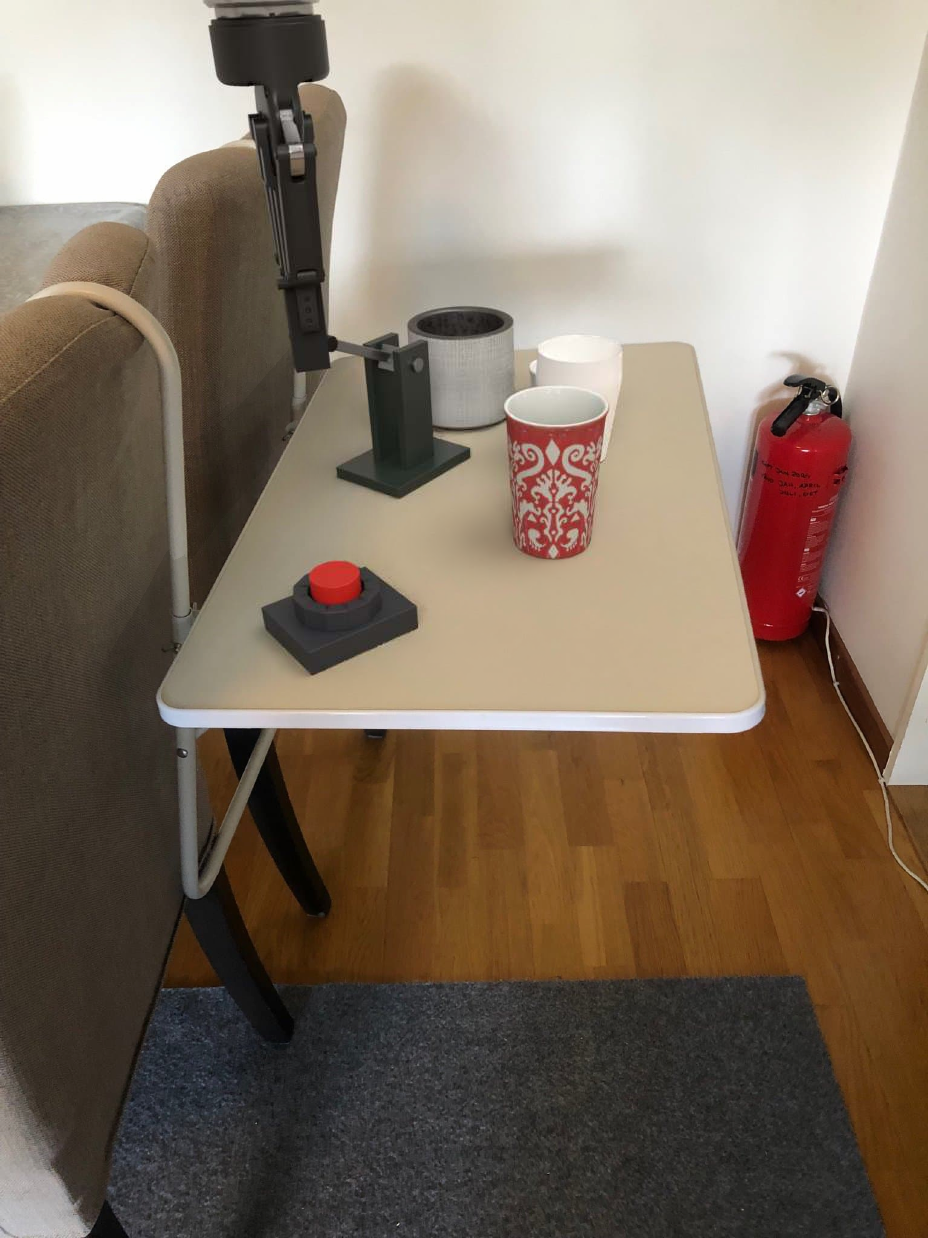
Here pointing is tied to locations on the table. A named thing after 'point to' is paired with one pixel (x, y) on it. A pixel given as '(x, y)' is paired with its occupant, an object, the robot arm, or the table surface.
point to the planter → (467, 364)
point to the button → (335, 582)
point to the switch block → (338, 622)
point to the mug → (554, 467)
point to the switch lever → (364, 351)
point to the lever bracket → (401, 425)
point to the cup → (583, 369)
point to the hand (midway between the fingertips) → (312, 367)
